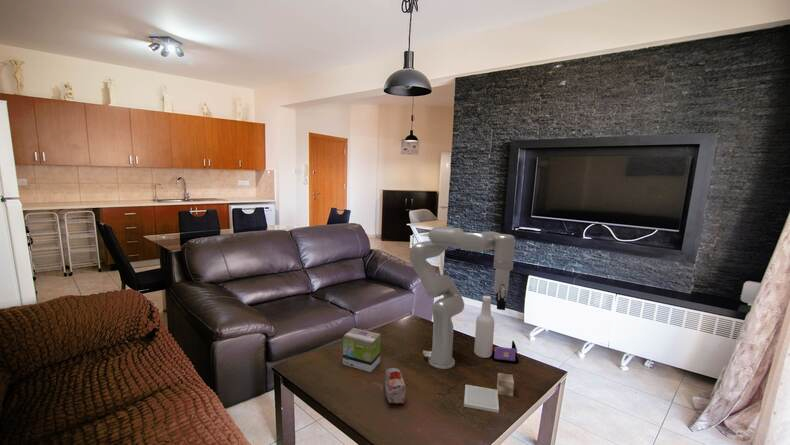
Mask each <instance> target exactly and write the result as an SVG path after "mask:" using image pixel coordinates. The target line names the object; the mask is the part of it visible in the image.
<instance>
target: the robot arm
mask: <svg viewBox="0 0 790 445" xmlns="http://www.w3.org/2000/svg"><path fill="white" fill-rule="evenodd" d="M428 239H429V240H424V241H421V242H416V243H415V244H413V245H412V246H411V248H410V250H409V256H408V257H409V262H410V264H411V266H412V268H413V269H414V271H415V272H416V274H417V276H418V278H419V280H420V282H421V286H422V287H423V288H424V291H425V292H426V294H427V296H428V297H430V298H432V299H433V298H434V299H435V298H439V297H441V296H442V297H441V298H439V299H437V300H436V301H434V303H433V305H432V307H431V313H432V319H433V320H432V323H433V324H432V345H431V346H432V348H431V350H422V355H424V358H427V359H428V364H429V365H430V366H432V367H434V368H436V369H441V370H446V369H447V370H448V369H451V368H453V367H454V366H455V364H456V360H455V358H454V357H453V342H454V323H453V321H452V317H453V318H454V317H455V316H456V315H459V314H460V313H462V312H463V311H464V309H465V300H464V299H463V296H462V295H461V293H460V291H459V289H458V287H457V285H456V283H455V281H454V280H453V279H452V277H450V276H449V275H447V274H440V275H438V274H437V272H436V270H435V268H434V266H433V265H432V263H430V262H429V261H428V260H427V259H432V258H436V257H438V256H440V255H442V254H443V253H444V252H445V250H447V249H448V248H449V247H454V248H458V249H460V250H464V251H468V252H469V251H471V252H484V251H488V250H489V251H491V250H494V254H493V269H495V272H494V285H493V290H494V294H496V295H495V302H497V303H496V309H497V310H501V311H505V310H506V306H507V305H506V304H507V299H506V298H507V296H506V295H508V291H509V283H510V271H513V269H514V260H515V258H514V257H515V244H516V237H515V236H514V235H512V234H508V233H507V234H506V233H499V232H497V231H484V232H483V231H482V232H467V231H464V230H463V229H462V228H458V227H457V228H456V227H452V226H450V225H441V226H435V227H434V228H432V229H430V231H429V232H428Z"/></svg>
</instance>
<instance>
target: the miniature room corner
mask: <svg viewBox="0 0 790 445" xmlns="http://www.w3.org/2000/svg"><path fill="white" fill-rule="evenodd" d="M517 352H518V349H517V346H516V343H515V341H514V340H512V341H511V347H504V346H503V347H501V346H495V348H493V349H492V355H491V356H492V360H493V361H494V362H498V363H499V362H500V363H506V364H507V363H509V364H519V360H518V356H517V354H518V353H517Z"/></svg>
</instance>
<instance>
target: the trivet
mask: <svg viewBox="0 0 790 445" xmlns="http://www.w3.org/2000/svg"><path fill="white" fill-rule="evenodd" d="M464 386H465V388H464V399H463V407H466V408H470V409H476V410H481V411H487V412H492V413H497V414H499V413H500V406H499V405H500V404H499V394H498V391H497V389H494V388H488V387H483V386H482V387H481V386H477V385H476V386H475V385H471V384H465V385H464Z"/></svg>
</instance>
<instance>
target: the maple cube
mask: <svg viewBox="0 0 790 445" xmlns="http://www.w3.org/2000/svg"><path fill="white" fill-rule="evenodd" d="M496 380H497V382H496V390H497V391H498V395H502V396H508V397H514V388H515V387H514V386H515V381H514V375H513V374H509V373H501V372H498V373H497V378H496Z"/></svg>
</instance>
